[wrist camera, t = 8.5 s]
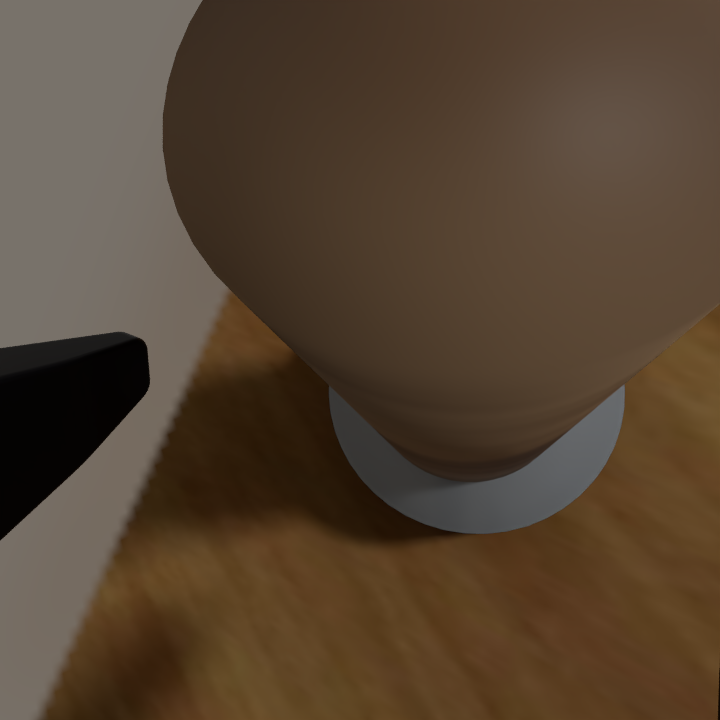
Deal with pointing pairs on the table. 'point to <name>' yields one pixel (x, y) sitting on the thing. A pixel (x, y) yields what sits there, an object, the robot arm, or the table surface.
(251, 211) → the walnut cylinder
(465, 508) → the slate pedestal
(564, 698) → the table surface
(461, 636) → the table surface
